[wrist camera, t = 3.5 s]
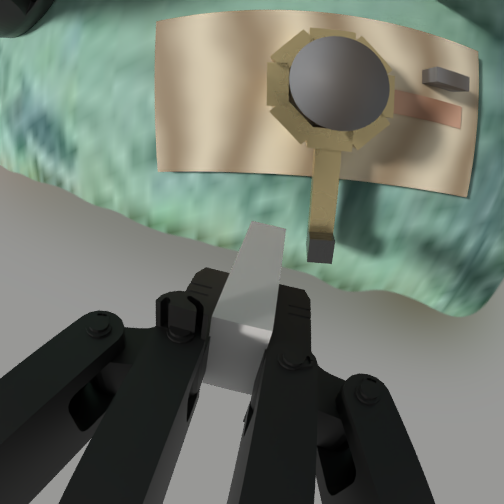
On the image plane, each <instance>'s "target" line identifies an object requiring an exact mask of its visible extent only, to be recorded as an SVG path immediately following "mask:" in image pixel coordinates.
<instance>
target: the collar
mask: <svg viewBox="0 0 504 504" xmlns="http://www.w3.org/2000/svg"><path fill="white" fill-rule="evenodd" d="M328 36H341V37H347V38H350V39H353V40H356V33H354V32H348V31H340V30H332V29H322V28H310V30H309V34H308V33H307V32H306V31H305V30H304V29H303V30H302V31H301V32H299V33H298V34H297V35H296V36H294V37H293V38H292V39H291V40H289V41H288V42H287V43H286V44H284V45H283V46H282V47H281V48H280V49H278V50H277V51H276V52H275V53H274V54H272V55H271V56H270V58H271V60H272V62H267V106H271V107H274V108H272V109H271V110H270V111H269V112H270V113H271V114H272V115H273V116H274V117H275V118H276V119H277V120H278V121H279V122H280V123H281V124H282V125H283V126H284V127H285V128H286V129H287V130H288V132H289V133H290V134H291V135H292V136H293V137H294V138H295V139H296V140H297V141H298V142H299V143H300V144H302V143H303V142H305V143H306V146H307V148H314V152H313V168H312V182H311V196H310V208H309V220H308V231H307V241H306V247H307V262H315V263H328V264H332V258H333V252H334V245H335V239H334V235H333V229H334V221H335V213H336V204H337V195H338V185H339V174H340V163H341V151H348V152H352V147H354V148H355V149H357V150H359V149H360V148H361V147H363V146H364V145H365V144H366V143H367V142H369V141H370V140H371V139H372V138H374V137H375V136H376V135H377V134H379V133H380V132H381V131H382V130H383V129H385V128H386V127H387V126H388V125H390V123H389V121H388V120H387V119H386V118H393V114H394V93H395V76H392V75H388V78H389V84H390V92H389V98H388V102H387V105H386V107H385V109H384V111H383V112H382V114H381V115H380V116H379V117H378V118H377V119H376V120H375V121H374V122H372V123H371V124H370V125H368V126H366V127H364V128H361V129H358V130H353V131H336V130H331V129H328V128H325V127H323V126H319V125H311V124H310V123H309V122H308V121H307V120H306V119H305V118H304V117H303V116H302V115H301V114H300V113H299V112H298V111H297V109H296V108H295V107H294V106H293V105H292V104H291V103H290V84H289V75H290V69H291V65H292V63H293V60H294V58H295V57H296V55H297V54H298V53H299V51H300V50H301V49H302V48H303V47H304V46H306V45H307V44H309V43H310V42H312V41H314V40H316V39H319V38H323V37H328ZM356 41H358V42H360V43H362V44H364V45H365V46H367V47H368V48H369V49H371V50H372V51H373V52H374V53H375V54H376V55H377V56H378V58H379V59H380V60H381V62H382V63H383V65H384V67H385V69H386V71H387V74H388V73H389V72H391V71H392V69H391V67H390V66H389V65H388V64H387V63H386V61H385V60H384V59H383V58H382V57H381V56H380V55H379V54H378V52H377V51H376V50H375V49H374V48H373V47H372V46H371V45H370V44H369V43H368V42H367V41H366V40H365V38H364V37H363V36H361V37H360V38H358V39H357V40H356Z"/></svg>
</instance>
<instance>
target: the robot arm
mask: <svg viewBox="0 0 504 504" xmlns="http://www.w3.org/2000/svg"><path fill="white" fill-rule="evenodd" d="M53 1H54V0H0V38H13V37H17V36H19V35H21V34H23V33H24V32H26V31H27V30H28V29H30V28H31V27H32V26H33V25H34V24H35V23H36V22H37V21H38V20H39V19H40V18H41V17H42V16H43V15H44V13H45V12H46V11H47V10H48V8H49V7H50V6H51V4H52V3H53ZM285 232H286V229H284V228H280V227H276V226H271V225H267V224H263V223H259V222H254V221H252V222H251V224H250V226H249V229H248V231H247V233H246V236H245V238H244V241H243V243H242V245H241V248H240V250H239V252H238V255H237V257H236V260H235V262H234V264H233V267H232V269H231V272H230V273H227V272H223V271H218V270H215V269H211V268H204V269H202V270H201V271H199V272H197V273H196V274H195V276H194V278H193V279H192V281H191V284H189V286H188V288H187V290H186V291H185V292H184V291H174V292H168V293H166V294H163V295H161V296H160V297H159V298H158V299H157V300H156V326H155V327H153V328H128V327H127V328H126V327H124V325H123V322H122V320H121V319H120V318H119V317H118V316H117V315H116V314H113V313H111V312H108V311H94V312H90V313H88V314H86V315H84V316H82V317H81V318H79V319H78V320H77V321H75V322H74V323H72V324H71V325H70V326H68V327H67V328H66V329H64V330H63V331H62V332H60V333H59V334H58V335H56V336H55V337H54V338H52V339H51V340H50V341H48V342H47V343H46V344H44V345H43V346H42V347H40V348H39V349H38V350H36V351H35V352H34V353H33V354H31V355H30V356H29V357H27V358H26V359H25V360H24V361H22V362H21V363H19V364H18V365H17V366H16V367H14V368H13V369H12V370H11V371H9V372H8V373H7V374H6V375H4V376H3V377H2V378H1V379H0V504H29V503H30V502H31V501H32V500H33V499H34V498H35V497H36V496H37V494H39V492H40V491H41V490H42V489H43V488H44V487H45V486H46V485H47V484H48V483H49V482H50V481H51V480H52V479H53V478H54V477H55V476H56V475H57V474H58V473H59V472H60V470H62V469H63V467H64V466H65V465H66V464H67V463H68V462H69V461H70V460H71V459H72V458H73V457H74V456H75V455H76V454H77V453H78V452H79V451H80V450H81V448H83V446H84V445H85V444H86V443H87V442H88V441H89V440H90V439H91V438H92V439H91V440H90V442H89V444H88V446H87V448H86V450H85V452H84V454H83V456H82V458H81V460H80V461H79V463H78V465H77V467H76V470H75V471H74V473H73V476H72V477H71V479H70V481H69V483H68V486H67V487H66V489H65V491H64V493H63V496H62V498H61V500H60V502H59V504H163V500H164V498H165V495H166V491H167V489H168V486H169V483H170V480H171V477H172V474H173V471H174V468H175V465H176V462H177V459H178V456H179V454H180V451H181V448H182V444H183V442H184V439H185V435H186V433H187V430H188V427H189V424H190V421H191V418H192V415H193V413H194V410H195V407H196V404H197V401H198V398H199V390H200V386H201V383H202V380H203V383H207V384H210V385H214V386H218V387H222V388H226V389H229V390H234V391H238V392H242V393H246V394H251V395H252V397H251V401H250V404H249V406H248V409H247V412H246V415H245V418H244V420H243V422H245V424H244V429H243V434H242V438H241V442H240V448H239V452H238V456H237V461H236V465H235V471H234V475H233V479H232V483H231V488H230V492H229V496H228V501H227V504H314V494H315V478H317V483H318V487H319V491H320V496H321V501H322V504H435V502H434V499H433V496H432V494H431V491H430V488H429V486H428V483H427V480H426V477H425V475H424V472H423V470H422V467H421V465H420V462H419V460H418V457H417V455H416V452H415V450H414V447H413V445H412V443H411V440H410V438H409V436H408V434H407V431H406V428H405V426H404V424H403V421H402V419H401V417H400V415H399V412H398V410H397V408H396V406H395V404H394V401H393V399H392V397H391V395H390V392H389V390H388V389H387V387H386V386H385V385H384V383H382V382H381V381H380V380H379V379H377V378H376V377H373V376H371V375H368V374H356V375H352V376H351V377H349V378H348V379H347V380H346V381H345V380H343V379H340V378H338V377H336V376H333V375H331V374H329V373H328V372H326V371H324V370H323V369H322V368H320V367H319V366H318V365H317V361H316V358H315V356H314V355H313V354H312V352H311V320H310V318H311V312H310V310H311V308H310V298H309V297H308V295H307V293H306V292H305V290H302V289H298V288H294V287H289V286H285V285H281V284H279V281H280V273H281V265H282V257H283V249H284V241H285ZM203 377H204V378H203Z"/></svg>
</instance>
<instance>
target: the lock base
mask: <svg viewBox="0 0 504 504" xmlns="http://www.w3.org/2000/svg"><path fill="white" fill-rule="evenodd" d="M310 28H322V29H332V30H340V31H348V32H354V33H356V40H357V39H358V38H360V37H361V36H363V37H364V38H365V40H366V41H367V42H368V43H369V44H370V45H371V46H372V47H373V48H374V49H375V50H376V51H377V52H378V54H379V55H380V56H381V57H382V58H383V59H384V60H385V61H386V63H387V64H388V65H389V66H390V67H391V69H392V71H391V72H389V73H388V74H387V71H386V69H385V67H384V65H383V63H382V62H381V60H380V59H379V58H378V56H377V55H376V54H375V53H374V52H373V51H372V50H371V49H369V48H368V47H367V46H365V45H364V44H362V43H360V42H358V41H356V40H353V39H350V38H347V37H341V36H328V37H323V38H319V39H316V40H314V41H312V42H310V43H309V44H307V45H306V46H304V47H303V48H302V49H301V50H300V51H299V53H298V54H297V55H296V57H295V58H294V60H293V63H292V65H291V69H290V75H289V84H290V103H291V104H292V105H293V106H294V107H295V108H296V109H297V111H298V112H299V113H300V114H301V115H302V116H303V117H304V118H305V119H306V120H307V121H308V122H309V123H310V124H311V125H319V126H323V127H325V128H328V129H331V130H336V131H353V130H358V129H361V128H364V127H366V126H368V125H370V124H371V123H372V122H374V121H375V120H376V119H377V118H378V117H379V116H380V115H381V114H382V112H383V111H384V109H385V107H386V105H387V102H388V98H389V92H390V84H389V78H388V75H392V76H395V93H394V114H393V118H386V119H387V120H388V121H389V123H390V125H388V126H387V127H386V128H385V129H383V130H382V131H381V132H380V133H379V134H377V135H376V136H375V137H374V138H372V139H371V140H370V141H369V142H367V143H366V144H365V145H364V146H363V147H361V148H360V149H359V150H357V149H355V148H354V147H352V152H348V151H341V163H340V174H339V179H346V180H355V181H364V182H373V183H381V184H388V185H396V186H403V187H410V188H416V189H423V190H429V191H435V192H441V193H446V194H452V195H457V196H463V197H467V194H468V188H469V183H470V177H471V171H472V165H473V158H474V150H475V141H476V131H477V119H478V99H479V63H478V51H476V50H474V49H471V48H469V47H466V46H464V45H461V44H458V43H456V42H453V41H450V40H447V39H444V38H441V37H438V36H435V35H432V34H429V33H426V32H422V31H419V30H415V29H412V28H408V27H404V26H400V25H396V24H392V23H387V22H382V21H378V20H372V19H367V18H361V17H355V16H348V15H341V14H333V13H323V12H312V11H295V10H244V11H227V12H215V13H206V14H198V15H190V16H184V17H177V18H171V19H166V20H161V21H156V42H155V125H156V148H157V165H158V172H178V171H199V172H245V173H268V174H285V175H300V176H312V168H313V152H314V148H307V146H306V143H305V142H303V143H302V144H300V143H299V142H298V141H297V140H296V139H295V138H294V137H293V136H292V135H291V134H290V133H289V132H288V130H287V129H286V128H285V127H284V126H283V125H282V124H281V123H280V122H279V121H278V120H277V119H276V118H275V117H274V116H273V115H272V114H271V113H270V112H269V111H270V110H271V109H272V108H274V107H271V106H267V62H272V60H271V58H270V56H271V55H272V54H274V53H275V52H276V51H277V50H278V49H280V48H281V47H282V46H283V45H284V44H286V43H287V42H288V41H289V40H291V39H292V38H293V37H294V36H296V35H297V34H298V33H299V32H301V31H302V30H303V29H304V30H305V31H306V32H307V33H308V34H309V30H310Z"/></svg>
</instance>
